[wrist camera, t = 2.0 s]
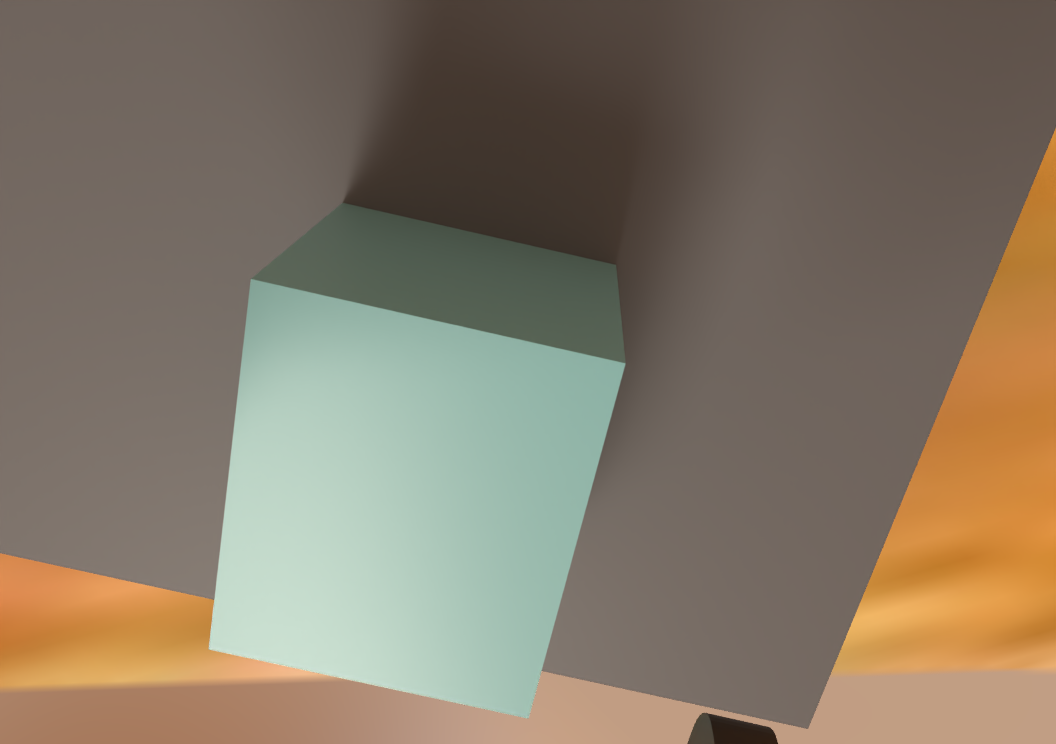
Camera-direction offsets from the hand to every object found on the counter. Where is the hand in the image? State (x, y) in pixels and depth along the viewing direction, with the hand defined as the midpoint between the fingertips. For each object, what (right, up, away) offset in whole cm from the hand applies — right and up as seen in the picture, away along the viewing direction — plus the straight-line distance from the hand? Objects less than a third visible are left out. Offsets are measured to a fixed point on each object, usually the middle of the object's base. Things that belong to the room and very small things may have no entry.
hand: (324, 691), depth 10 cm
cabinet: (+2, +8, +16) cm, 18 cm away
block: (+1, +3, +8) cm, 9 cm away
